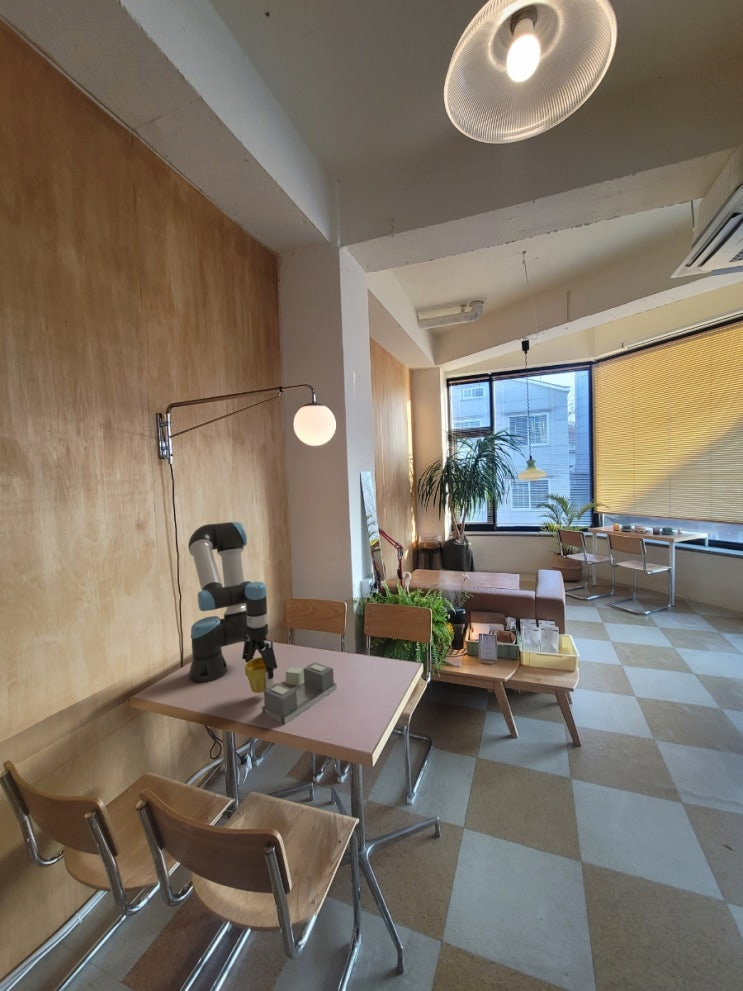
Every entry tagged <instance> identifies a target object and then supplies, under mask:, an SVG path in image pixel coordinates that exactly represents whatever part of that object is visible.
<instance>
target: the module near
mask: <svg viewBox="0 0 743 991" xmlns="http://www.w3.org/2000/svg"><path fill="white" fill-rule="evenodd" d="M263 697H264V698H263V700H264V702H263V703H264V706H265V708H267V709H269V710H271V711H273V712H275V713H277V714H279V715H281V716H285V715H287V714H288V713H290V712H291V711H293V710H294V709H296V708H297V695H296V691H295V690H293V688H289V687H287V686H285V685H282V684H281V683H275V684H273V686H271V687H269V688H268V689H266V690H264V692H263Z"/></svg>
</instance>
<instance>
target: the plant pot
mask: <svg viewBox="0 0 743 991" xmlns="http://www.w3.org/2000/svg"><path fill="white" fill-rule="evenodd" d="M266 670H267V669H266V666H265V664H264V661H263V658H262V656H261V657H256V658H255V657H254V659H252V660H250V661H248V662H247V663H246V662H245V665H244V672H245V676H246V677H247V680H248V684H249V686H250V690H251V692H253V693H255V694H261V693H264V690H266V689H267V688H266V675H265V671H266ZM274 670H275V669H274ZM274 670H273V672H274Z"/></svg>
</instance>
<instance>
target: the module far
mask: <svg viewBox="0 0 743 991" xmlns="http://www.w3.org/2000/svg"><path fill="white" fill-rule="evenodd" d="M303 669H304V681H303V682H304V684H307V685H309V686H312V687H314V688H317V689H320V690H325V689H326V688H328V687H329V686H331V685H332V684H334V683H335V680H334V678H335V677H334V668H333V667H329V666H327V665H323V664H321V663H318V662H312V663H311V664H309V665H307V666H305V667H303Z"/></svg>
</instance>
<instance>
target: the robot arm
mask: <svg viewBox="0 0 743 991" xmlns="http://www.w3.org/2000/svg"><path fill="white" fill-rule="evenodd" d="M247 539H248V538H247V534H246V530H245V527H244V525H243V524H242V523H241V522H239V521H230V522H229V521H228V522H221V523H209V524H208V523H207V524H203V525H202V526H200V527H198V528H197V529H196V530H195V531H194V532H193V533H192V534H191V536H190V538H189V541H188V552H189V554H190V555H191V556H192V557H193V561H194V565H195V568H196V572H197V576H198V581H199V586H200V590H201V591H199V592H198V593H197V606H198V608H199V611H201V612H206V611H215V610H218V609H223V608H226V609H225V611H224V613H223V618H220V617H219V616H218V615H213V616H205V617H203V618H202V619H199V620H197V621H195V622H194V623H193V624H192V625H191V627H190V628H191V629H190V639H191V651H192V652H191V653H192V655H191V656H192V659H191V660H192V661H191V663H190V664H191V665H190V667H189V671H188V678H190V679H189V680H190V681H191V680H192V681H191V682H193V681H195V682H194V683H205V681H207V682H211V680H212V681H214V680H217V679H219V678H221V677H223V676H224V675H225V674H226V673H227V672H228V664H227V661H226V660H225V657H224V655H223V652H222V647H226V646H231V645H235V644H238V643H243V649H242V650H243V651H242V656H241V657H242V660H245V664H246V663H247V662H248V661H250V660H252V659H255V657H254V656H255V653H256V651H258V654H260V655H261V657H262V658H263V661H264V664H265V666H266V669H267V670H266V671H265V675H266V688H267V689H268V688H270V687H271V686H273V685H274V671H273V670H277V668H278V664H277V659H276V655H275V651H274V646H273V645H274V644H273V641H272V640H270V641H268V638H267V635H268V634H269V624H268V622H269V620H268V600H267V597H268V596H267V595H268V594H267V593H268V592H267V587H266V586H267V584H266V583H265V582H263V581H262V582H261V581H253V582H252V581H250V580H249V581H248V580H244V570H243V562H242V560H243V559H242V555H241V554H242V552H243V551H244V547H245V546H247V542H248V540H247ZM213 550H216V554H218V555H219V556H220V557H221V566H222V576H223V577H222V578H223V583H222V579H221V577H220V573H219V570H218V566H217V564H216V560H215V557H214V553H213ZM223 585H224V587H223Z"/></svg>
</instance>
